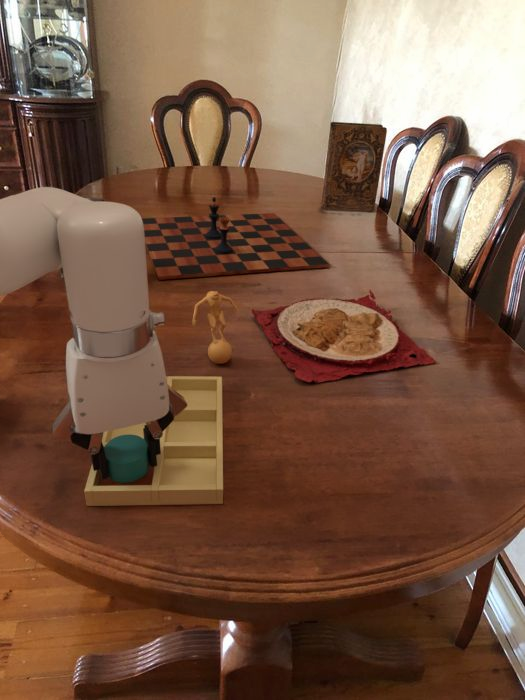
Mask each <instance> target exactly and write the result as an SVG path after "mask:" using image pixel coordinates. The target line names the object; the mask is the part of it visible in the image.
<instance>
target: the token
mask: <svg viewBox="0 0 525 700" xmlns="http://www.w3.org/2000/svg"><path fill="white" fill-rule="evenodd" d="M104 451H105V455H106V462H107V470H108V477H109V478H110V479H112V480H113V481H116V482H120V483H129V482H133V481H136V480H138V479H140V478H142V477H143V476H144V475H145V474H146V473H147V471H148V469H149V455H148V446H147V443H146V441H145V440H144V439H143V438H142V437H140V436H137V435H130V434H128V435H121V436H117V437H115V438H113V439H111V440H110V441H109V442H108V443H107V444H106V445H105V447H104Z"/></svg>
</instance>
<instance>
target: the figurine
mask: <svg viewBox="0 0 525 700" xmlns="http://www.w3.org/2000/svg"><path fill="white" fill-rule="evenodd" d="M222 301H227V302H229V304H231V306H232V307H233V310H235V311H236V312H237V315H238V317H239V318H241V313H240V310H239V308H238V307H237V305H236V304H235V303H234V301H233V299H232V298H231V297H229V296H225V295H223V294H222V293H221V294H220V293H219V292H218V291H214V290H211V291H208V292H207V293H206V295H205V296H204V297H203V298H202V299H201V300H200V301H198V302H197V303H196V304H195V305H194V308H193V309H194V310H193V313H192V314H193V315H192V322H191V324H192V325H191V326H194V327H195V326H196V325H197V324H196V323H198V321H197V320H196V318H197V315H198V308H199V307H201V306H202V305H204V304H206V303H207V306H208V308H209V310H210V312H209V313H207V319H208V323H209V326H210V327H211V328H210V332H211V336H212V341H211V343H210V344H209V346H208V348H207V355H208V358H209V359H210V360H211V362H213V363H215V364H218V365H222V364H226V363H227V362H228V361H230V360H231V358H232V355H233V348H232V345H231V344H230V343H229V342H228V341H227V339H226V338H225V336H224V333H223V331H224V330H225V328H226V327H227V322H226V319H225V316H224V311H223V310H220V308H221V305H222ZM217 320H218V323H219V324H220V325H221V326H219V335H220V338H219V339H217V337H216V333H215V332H216V328H217V327H216V326H217ZM196 327H197V326H196Z"/></svg>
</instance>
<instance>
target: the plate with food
mask: <svg viewBox="0 0 525 700" xmlns="http://www.w3.org/2000/svg"><path fill="white" fill-rule="evenodd" d="M368 292H369V294H368V295H365V296H363V297H359V298H357V299H356V298H349V299H347V298H345V299H342V298H338V297H337V298H322V297H321V298H318V297H317V298H306V299H301V300H298V301H295V302H293V303H292V304H289V305H288V304H287V305H284V306H282V305H281V306H278V307H276V308H274V309H265V310H258V309H257V310H255V308H252V309H251V313H252V314H253V316H254V318H256V321H257V323H258V324H259V325H261V327H262V331H263V332H264V333H265V336H266V337H267V338H268V339H269V342H271V343H270V346H271V347H272V349H273V351H274V352H275V353H276V355H277V357H278V359H280V361H281V362H283V363H284V364H285V366H286V368H288V369H290V370H293V371H295V372H294V376H295V377H296V378H297V379H299V380H301V381H304V382H307V383H308V384H309V383H311V382H315V384H318V383H319V384H320V383H324V382H329V381H336V380H342V379H343V378H344V377H347V376H349V375H350V376H356V375H363V373H373V372H379V371H390V370H394V369H398V368H400V367H403V368H408V367H412V366H417V365H419V366H421V365H424V366H426V365H431V364H433V363H437V360H435V359H434V358H433V357H432V356H431V355H430V354H428V353H427V351H426V349H424V348H421V347H420V346H418V344H416V343H415V341H414V340H412V339H411V338H410V337H409V336H408V335H407V334H406V333H405V332H403V330H401V329H400V326H398V323H397V321H396V320H393V315H392V314H391V313H392V311H391V310H388V311H386V310H385V309H383V308H380V307H379V306H378V305H377V302H376V296H375V295H374V293H373V292H372V290H371V289H369V290H368ZM411 355H415V357H412V356H411Z"/></svg>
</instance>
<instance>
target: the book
mask: <svg viewBox="0 0 525 700" xmlns="http://www.w3.org/2000/svg"><path fill="white" fill-rule="evenodd" d="M387 133H388V129H387V127H385V126H383V124H381V123H380V124H379V123H362V122H361V123H360V122H345V121H344V122H343V121H331V122H330V125H329V133H328V141H327V150H326V160H325V169H324V176H323V177H324V178H323V186H322V195H321V203H320V209H322V210H324V211H336V212H338V211H339V212H355V213H356V212H358V213H359V212H360V213H372V212H373V211H374V210H375V207H376V201H377V194H378V189H379V182H380V178H381V177H380V176H381V171H382V166H383V165H382V164H383V159H384V152H385V146H386V141H387V140H386V139H387Z"/></svg>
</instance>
